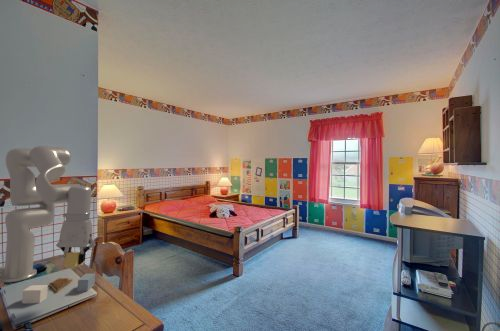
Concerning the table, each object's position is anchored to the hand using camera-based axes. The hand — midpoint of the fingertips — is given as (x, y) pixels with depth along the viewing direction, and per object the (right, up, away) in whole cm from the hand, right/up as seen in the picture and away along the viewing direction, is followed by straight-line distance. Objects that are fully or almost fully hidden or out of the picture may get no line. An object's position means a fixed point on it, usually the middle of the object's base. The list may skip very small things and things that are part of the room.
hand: (74, 262), depth 93 cm
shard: (-14, -15, +11) cm, 23 cm away
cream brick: (-15, -14, -1) cm, 21 cm away
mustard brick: (0, -1, -1) cm, 1 cm away
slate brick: (-2, -15, +10) cm, 18 cm away
